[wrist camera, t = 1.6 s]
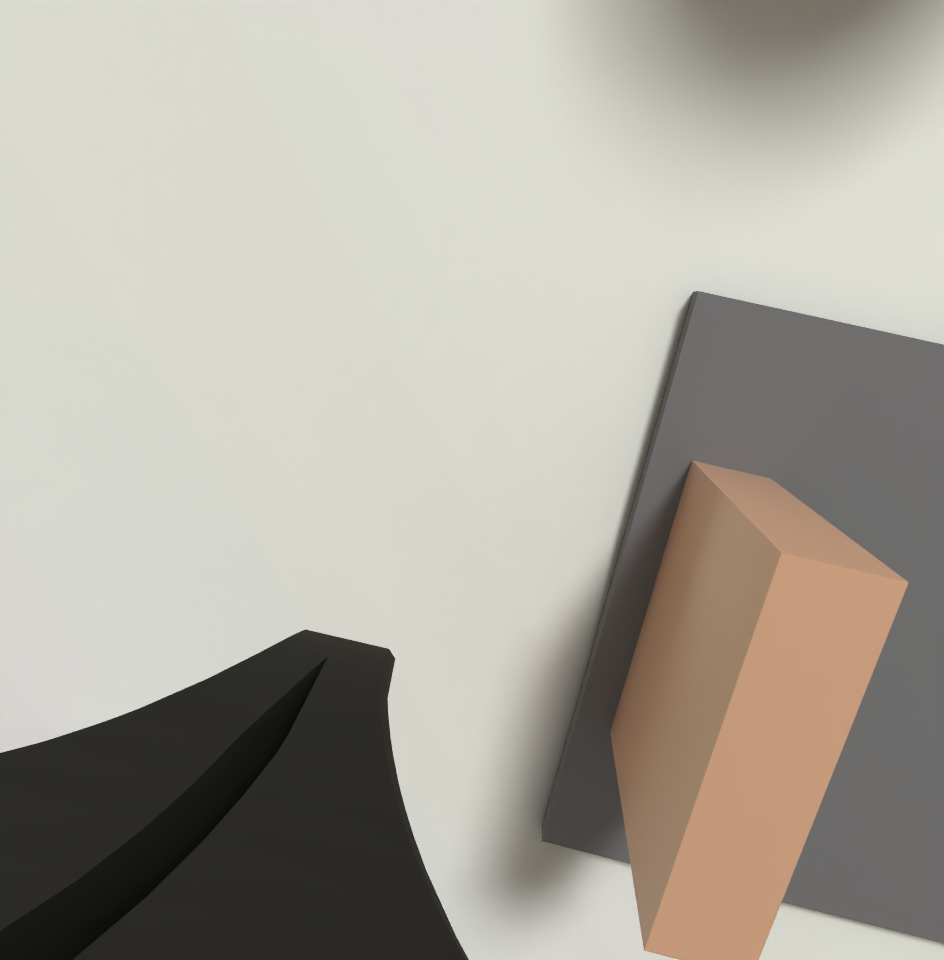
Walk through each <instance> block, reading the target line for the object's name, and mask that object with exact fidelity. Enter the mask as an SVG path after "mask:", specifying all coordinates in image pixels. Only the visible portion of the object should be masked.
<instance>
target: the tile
mask: <svg viewBox="0 0 944 960" xmlns="http://www.w3.org/2000/svg"><path fill="white" fill-rule="evenodd" d="M908 583H909V582H908V581H906V580H905V579H904V578H902V577H901V576H900V575H898V574H897V573H896V572H894V571H893V570H892V569H890V568H889V567H888V566H886V565H885V564H884V563H882V562H881V561H880V560H878V559H877V558H876V557H874V556H873V555H872V554H870V553H869V552H868V551H866V550H865V549H864V548H862V547H861V546H860V545H858V544H857V543H856V542H854V541H853V540H852V539H850V538H849V537H848V536H846V535H845V534H844V533H842V532H841V531H840V530H838V529H837V528H836V527H834V526H833V525H832V524H830V523H829V522H828V521H826V520H825V519H824V518H823V517H821V516H820V515H819V514H817V513H816V512H815V511H813V510H812V509H811V508H809V507H808V506H807V505H805V504H804V503H803V502H801V501H800V500H799V499H797V498H796V497H795V496H793V495H792V494H791V493H789V492H788V491H787V490H785V489H784V488H783V487H781V486H780V485H779V484H777V483H776V482H775V481H773V480H772V479H771V478H767V477H762V476H758V475H753V474H749V473H745V472H740V471H736V470H732V469H727V468H723V467H718V466H714V465H710V464H705V463H701V462H697V461H692V462H691V465H690V468H689V472H688V475H687V478H686V482H685V485H684V488H683V492H682V495H681V498H680V502H679V505H678V508H677V512H676V515H675V518H674V522H673V525H672V528H671V532H670V535H669V538H668V542H667V545H666V548H665V552H664V555H663V558H662V562H661V565H660V568H659V572H658V575H657V578H656V582H655V585H654V588H653V592H652V595H651V598H650V601H649V605H648V608H647V611H646V615H645V618H644V621H643V625H642V628H641V631H640V635H639V638H638V641H637V645H636V648H635V651H634V655H633V658H632V661H631V665H630V668H629V671H628V675H627V678H626V681H625V685H624V688H623V691H622V695H621V698H620V701H619V705H618V708H617V711H616V715H615V718H614V721H613V725H612V728H611V731H610V735H611V741H612V748H613V754H614V760H615V767H616V773H617V780H618V786H619V792H620V799H621V805H622V812H623V818H624V824H625V831H626V837H627V844H628V850H629V856H630V863H631V869H632V875H633V882H634V888H635V895H636V901H637V907H638V914H639V920H640V927H641V933H642V939H643V946H644V951H648V952H652V953H656V954H660V955H664V956H667V957H671V958H675V959H679V960H759V957H760V955H761V952H762V950H763V947H764V945H765V942H766V940H767V937H768V935H769V932H770V930H771V927H772V925H773V922H774V920H775V917H776V915H777V912H778V910H779V907H780V905H781V902H782V900H783V897H784V895H785V892H786V890H787V887H788V885H789V882H790V879H791V877H792V874H793V872H794V869H795V867H796V864H797V862H798V859H799V857H800V854H801V852H802V849H803V847H804V844H805V842H806V839H807V837H808V834H809V832H810V829H811V827H812V824H813V822H814V819H815V817H816V814H817V812H818V809H819V807H820V804H821V802H822V799H823V797H824V794H825V791H826V789H827V786H828V784H829V781H830V779H831V776H832V774H833V771H834V769H835V766H836V764H837V761H838V759H839V756H840V754H841V751H842V749H843V746H844V744H845V741H846V739H847V736H848V734H849V731H850V729H851V726H852V724H853V721H854V719H855V716H856V714H857V711H858V709H859V706H860V704H861V701H862V698H863V696H864V693H865V691H866V688H867V686H868V683H869V681H870V678H871V676H872V673H873V671H874V668H875V666H876V663H877V661H878V658H879V656H880V653H881V651H882V648H883V646H884V643H885V641H886V638H887V636H888V633H889V631H890V628H891V626H892V623H893V621H894V618H895V616H896V613H897V611H898V608H899V605H900V603H901V600H902V598H903V595H904V593H905V590H906V588H907V585H908Z"/></svg>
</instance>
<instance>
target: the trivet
mask: <svg viewBox="0 0 944 960" xmlns="http://www.w3.org/2000/svg"><path fill="white" fill-rule="evenodd" d="M692 461H697V462H701V463H705V464H710V465H714V466H718V467H723V468H727V469H732V470H736V471H740V472H745V473H749V474H753V475H758V476H762V477H767V478H771V479H772V480H773V481H775V482H776V483H777V484H779V485H780V486H781V487H783V488H784V489H785V490H787V491H788V492H789V493H791V494H792V495H793V496H795V497H796V498H797V499H799V500H800V501H801V502H803V503H804V504H805V505H807V506H808V507H809V508H811V509H812V510H813V511H815V512H816V513H817V514H819V515H820V516H821V517H823V518H824V519H825V520H826V521H828V522H829V523H830V524H832V525H833V526H834V527H836V528H837V529H838V530H840V531H841V532H842V533H844V534H845V535H846V536H848V537H849V538H850V539H852V540H853V541H854V542H856V543H857V544H858V545H860V546H861V547H862V548H864V549H865V550H866V551H868V552H869V553H870V554H872V555H873V556H874V557H876V558H877V559H878V560H880V561H881V562H882V563H884V564H885V565H886V566H888V567H889V568H890V569H892V570H893V571H894V572H896V573H897V574H898V575H900V576H901V577H902V578H904V579H905V580H906V581H908V582H909V583H908V585H907V588H906V590H905V593H904V595H903V598H902V600H901V603H900V605H899V608H898V611H897V613H896V616H895V618H894V621H893V623H892V626H891V628H890V631H889V633H888V636H887V638H886V641H885V643H884V646H883V648H882V651H881V653H880V656H879V658H878V661H877V663H876V666H875V668H874V671H873V673H872V676H871V678H870V681H869V683H868V686H867V688H866V691H865V693H864V696H863V698H862V701H861V704H860V706H859V709H858V711H857V714H856V716H855V719H854V721H853V724H852V726H851V729H850V731H849V734H848V736H847V739H846V741H845V744H844V746H843V749H842V751H841V754H840V756H839V759H838V761H837V764H836V766H835V769H834V771H833V774H832V776H831V779H830V781H829V784H828V786H827V789H826V791H825V794H824V797H823V799H822V802H821V804H820V807H819V809H818V812H817V814H816V817H815V819H814V822H813V824H812V827H811V829H810V832H809V834H808V837H807V839H806V842H805V844H804V847H803V849H802V852H801V854H800V857H799V859H798V862H797V864H796V867H795V869H794V872H793V874H792V877H791V879H790V882H789V885H788V887H787V890H786V892H785V895H784V897H783V900H782V902H785V903H789V904H793V905H797V906H801V907H804V908H808V909H812V910H816V911H820V912H824V913H828V914H832V915H836V916H840V917H844V918H848V919H852V920H856V921H860V922H863V923H867V924H871V925H875V926H879V927H883V928H887V929H891V930H895V931H899V932H903V933H907V934H911V935H915V936H919V937H922V938H926V939H930V940H934V941H938V942H942V943H944V345H942V344H938V343H933V342H928V341H924V340H919V339H915V338H910V337H906V336H901V335H896V334H892V333H887V332H883V331H878V330H873V329H869V328H864V327H860V326H855V325H851V324H846V323H841V322H837V321H832V320H828V319H823V318H818V317H814V316H809V315H805V314H800V313H796V312H791V311H786V310H782V309H777V308H773V307H768V306H763V305H759V304H754V303H750V302H745V301H741V300H736V299H731V298H727V297H722V296H718V295H713V294H708V293H704V292H699V291H697V292H693V295H692V299H691V302H690V306H689V309H688V313H687V316H686V320H685V323H684V327H683V330H682V334H681V337H680V341H679V344H678V348H677V352H676V355H675V359H674V362H673V366H672V369H671V373H670V376H669V380H668V383H667V387H666V390H665V394H664V397H663V401H662V404H661V408H660V411H659V415H658V419H657V422H656V426H655V429H654V433H653V436H652V440H651V443H650V447H649V450H648V454H647V457H646V461H645V464H644V468H643V471H642V475H641V479H640V482H639V486H638V489H637V493H636V496H635V500H634V503H633V507H632V510H631V514H630V517H629V521H628V524H627V528H626V531H625V535H624V539H623V542H622V546H621V549H620V553H619V556H618V560H617V563H616V567H615V570H614V574H613V577H612V581H611V584H610V588H609V591H608V595H607V598H606V602H605V606H604V609H603V613H602V616H601V620H600V623H599V627H598V630H597V634H596V637H595V641H594V644H593V648H592V651H591V655H590V658H589V662H588V666H587V669H586V673H585V676H584V680H583V683H582V687H581V690H580V694H579V697H578V701H577V704H576V708H575V711H574V715H573V718H572V722H571V725H570V729H569V733H568V736H567V740H566V743H565V747H564V750H563V754H562V757H561V761H560V764H559V768H558V771H557V775H556V778H555V782H554V785H553V789H552V793H551V796H550V800H549V803H548V807H547V810H546V814H545V817H544V821H543V824H542V841H545V842H549V843H553V844H557V845H561V846H565V847H568V848H572V849H576V850H580V851H584V852H588V853H592V854H596V855H600V856H604V857H608V858H612V859H616V860H620V861H624V862H627V863H630V856H629V850H628V844H627V837H626V831H625V824H624V818H623V812H622V805H621V799H620V792H619V786H618V780H617V773H616V767H615V760H614V754H613V748H612V741H611V735H610V731H611V728H612V725H613V721H614V718H615V715H616V711H617V708H618V705H619V701H620V698H621V695H622V691H623V688H624V685H625V681H626V678H627V675H628V671H629V668H630V665H631V661H632V658H633V655H634V651H635V648H636V645H637V641H638V638H639V635H640V631H641V628H642V625H643V621H644V618H645V615H646V611H647V608H648V605H649V601H650V598H651V595H652V592H653V588H654V585H655V582H656V578H657V575H658V572H659V568H660V565H661V562H662V558H663V555H664V552H665V548H666V545H667V542H668V538H669V535H670V532H671V528H672V525H673V522H674V518H675V515H676V512H677V508H678V505H679V502H680V498H681V495H682V492H683V488H684V485H685V482H686V478H687V475H688V472H689V468H690V465H691V462H692Z"/></svg>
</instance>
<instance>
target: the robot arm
mask: <svg viewBox="0 0 944 960" xmlns="http://www.w3.org/2000/svg"><path fill="white" fill-rule="evenodd" d="M394 661H395V658H394V656H393V655H392V653H391V651H390V650H389V649H387V648H382V647H378V646H374V645H369V644H365V643H361V642H357V641H352V640H348V639H344V638H339V637H335V636H331V635H326V634H322V633H318V632H314V631H309V630H303V631H301V632H299V633H297V634H295V635H292V636H291V637H289V638H287V639H285V640H283V641H281V642H279V643H277V644H275V645H273V646H271V647H269V648H267V649H266V650H264V651H262V652H260V653H258V654H256V655H254V656H252V657H250V658H248V659H246V660H244V661H242V662H240V663H238V664H236V665H234V666H232V667H230V668H228V669H226V670H224V671H222V672H220V673H218V674H216V675H214V676H212V677H210V678H208V679H206V680H204V681H201V682H199V683H197V684H195V685H192V686H190V687H188V688H185V689H183V690H181V691H179V692H176V693H174V694H172V695H169V696H167V697H165V698H163V699H160V700H158V701H156V702H153V703H151V704H149V705H147V706H144V707H142V708H139V709H137V710H134V711H132V712H129V713H127V714H124V715H121V716H119V717H116V718H113V719H110V720H108V721H105V722H102V723H99V724H96V725H93V726H90V727H87V728H84V729H81V730H78V731H75V732H72V733H69V734H66V735H63V736H60V737H57V738H54V739H50V740H47V741H44V742H41V743H37V744H33V745H29V746H26V747H22V748H18V749H14V750H10V751H6V752H3V753H0V960H469V959H468V958H467V956H466V954H465V952H464V950H463V948H462V947H461V945H460V943H459V941H458V939H457V937H456V935H455V933H454V931H453V929H452V927H451V924H450V922H449V920H448V918H447V916H446V913H445V911H444V909H443V907H442V905H441V902H440V900H439V898H438V896H437V894H436V891H435V889H434V887H433V885H432V883H431V880H430V878H429V876H428V874H427V871H426V869H425V866H424V864H423V861H422V858H421V855H420V852H419V850H418V847H417V844H416V841H415V839H414V836H413V833H412V830H411V826H410V823H409V820H408V817H407V813H406V810H405V806H404V803H403V799H402V795H401V791H400V787H399V783H398V778H397V773H396V768H395V763H394V758H393V752H392V745H391V739H390V728H389V718H388V701H387V698H388V692H389V687H390V682H391V677H392V672H393V667H394Z"/></svg>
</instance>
